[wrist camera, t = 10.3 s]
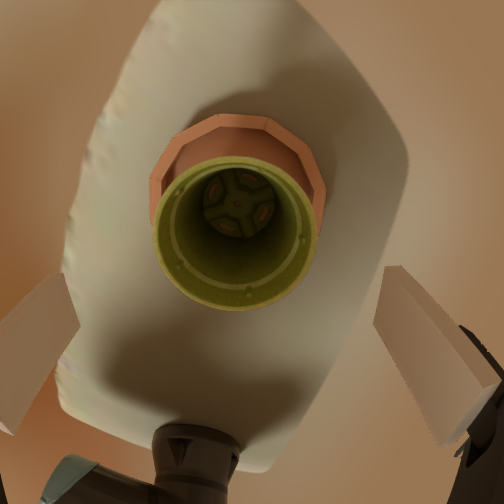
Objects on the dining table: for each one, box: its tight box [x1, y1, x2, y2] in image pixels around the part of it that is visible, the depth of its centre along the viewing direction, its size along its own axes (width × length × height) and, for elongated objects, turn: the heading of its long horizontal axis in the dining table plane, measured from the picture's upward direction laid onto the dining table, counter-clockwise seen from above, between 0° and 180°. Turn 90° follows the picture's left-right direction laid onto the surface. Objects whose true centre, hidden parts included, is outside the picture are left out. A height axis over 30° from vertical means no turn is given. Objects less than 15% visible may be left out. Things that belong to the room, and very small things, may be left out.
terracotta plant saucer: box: [150, 113, 327, 237], centre depth 24 cm, size 14×14×2 cm
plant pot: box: [152, 156, 317, 311], centre depth 20 cm, size 9×9×9 cm
